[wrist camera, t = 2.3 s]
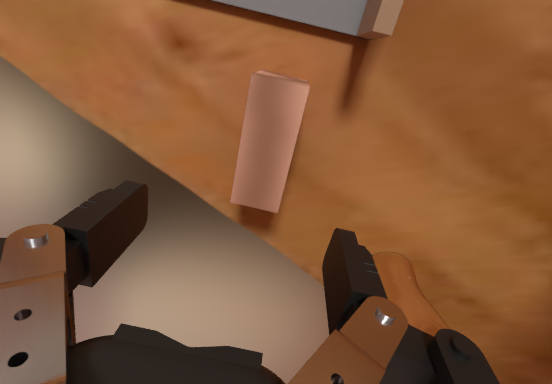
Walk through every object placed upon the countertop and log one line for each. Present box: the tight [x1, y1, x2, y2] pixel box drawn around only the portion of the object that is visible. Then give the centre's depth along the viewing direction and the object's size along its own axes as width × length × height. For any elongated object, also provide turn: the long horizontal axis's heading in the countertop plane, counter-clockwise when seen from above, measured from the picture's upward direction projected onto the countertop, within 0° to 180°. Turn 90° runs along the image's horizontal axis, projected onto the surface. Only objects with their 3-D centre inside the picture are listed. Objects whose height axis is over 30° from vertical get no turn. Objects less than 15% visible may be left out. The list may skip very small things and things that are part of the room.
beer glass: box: [372, 252, 450, 336], centre depth 26 cm, size 7×7×15 cm
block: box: [230, 70, 310, 213], centre depth 24 cm, size 4×10×6 cm, turn 168°
